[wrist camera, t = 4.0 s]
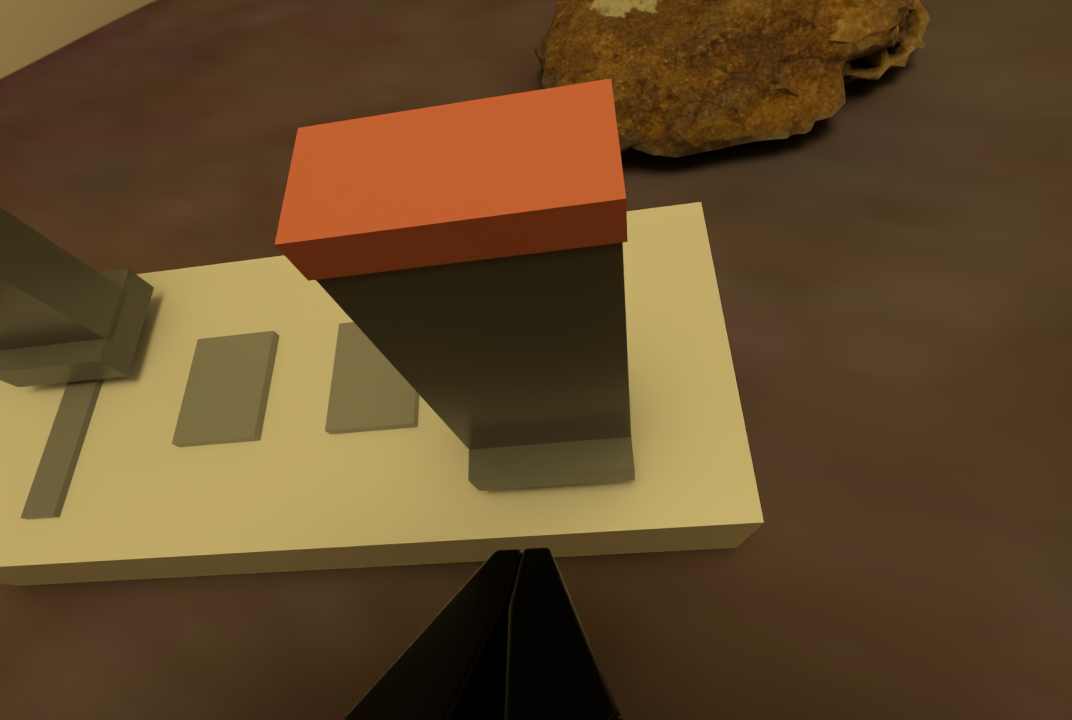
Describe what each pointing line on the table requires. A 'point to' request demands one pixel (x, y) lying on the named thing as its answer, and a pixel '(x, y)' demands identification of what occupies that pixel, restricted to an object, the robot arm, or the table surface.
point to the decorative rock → (725, 63)
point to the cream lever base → (354, 439)
